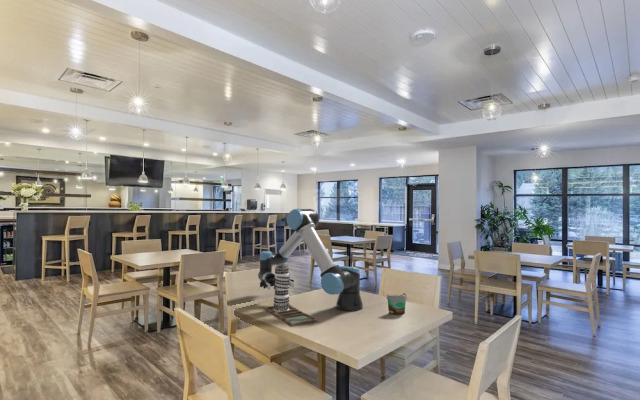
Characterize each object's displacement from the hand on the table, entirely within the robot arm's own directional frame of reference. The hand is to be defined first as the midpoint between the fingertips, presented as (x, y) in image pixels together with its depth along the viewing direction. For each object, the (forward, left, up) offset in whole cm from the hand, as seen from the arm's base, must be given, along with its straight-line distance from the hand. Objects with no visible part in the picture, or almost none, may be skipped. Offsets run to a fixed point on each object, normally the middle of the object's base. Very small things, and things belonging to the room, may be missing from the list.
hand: (281, 286), depth 196 cm
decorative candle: (0, -1, -14) cm, 14 cm away
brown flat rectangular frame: (-7, +7, -13) cm, 17 cm away
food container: (-63, -11, -14) cm, 66 cm away
